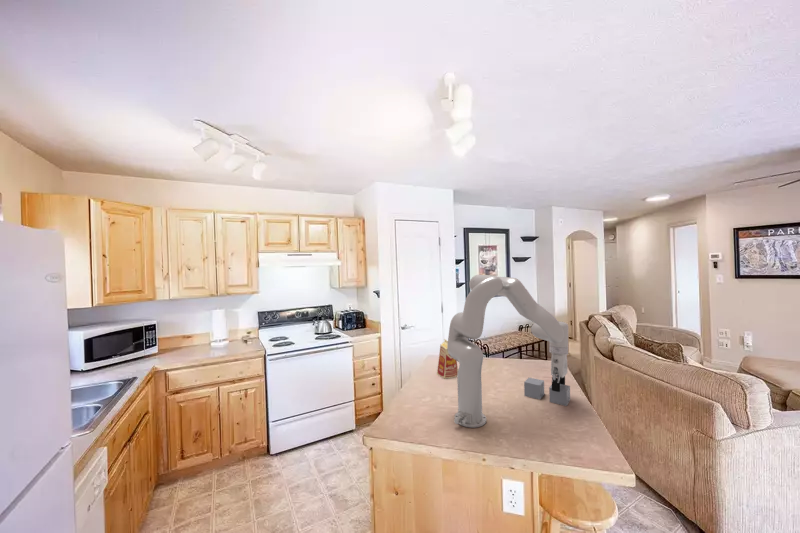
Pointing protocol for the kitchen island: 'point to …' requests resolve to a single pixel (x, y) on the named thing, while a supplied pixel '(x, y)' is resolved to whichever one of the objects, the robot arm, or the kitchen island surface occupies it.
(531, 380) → the gray cube
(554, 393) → the grey block
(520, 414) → the kitchen island surface
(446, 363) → the milk carton
